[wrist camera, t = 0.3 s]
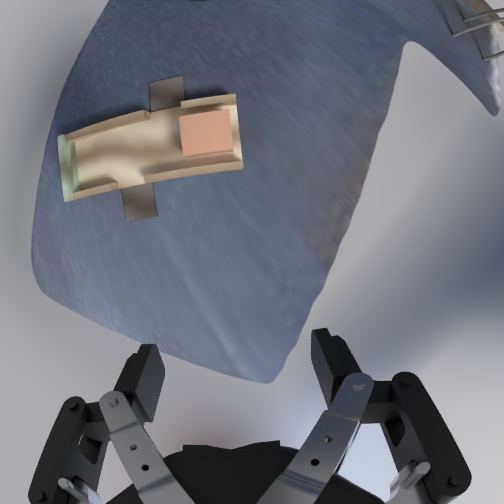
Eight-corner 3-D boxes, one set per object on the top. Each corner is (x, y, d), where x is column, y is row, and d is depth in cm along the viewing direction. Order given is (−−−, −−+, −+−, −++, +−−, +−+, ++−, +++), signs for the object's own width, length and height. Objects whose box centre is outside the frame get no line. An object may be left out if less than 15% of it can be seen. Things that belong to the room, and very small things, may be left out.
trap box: (72, 109, 31) (56, 105, 27) (232, 69, 32) (231, 57, 27) (85, 228, 37) (71, 235, 33) (246, 204, 38) (248, 208, 33)
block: (185, 122, 33) (179, 116, 28) (229, 116, 33) (228, 109, 29) (189, 157, 34) (183, 156, 30) (233, 151, 34) (233, 149, 30)
